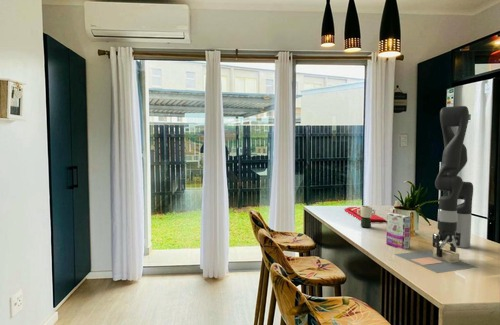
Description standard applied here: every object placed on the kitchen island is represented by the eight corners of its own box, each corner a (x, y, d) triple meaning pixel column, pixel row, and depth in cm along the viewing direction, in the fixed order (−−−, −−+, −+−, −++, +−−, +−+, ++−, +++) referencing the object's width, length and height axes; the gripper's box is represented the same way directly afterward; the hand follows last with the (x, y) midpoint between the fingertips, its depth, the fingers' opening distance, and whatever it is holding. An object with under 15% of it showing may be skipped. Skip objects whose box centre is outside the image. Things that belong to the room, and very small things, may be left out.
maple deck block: (433, 256, 154) (433, 248, 154) (441, 255, 156) (441, 247, 156) (450, 262, 146) (450, 254, 146) (459, 261, 147) (459, 253, 147)
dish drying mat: (364, 223, 222) (364, 218, 222) (343, 211, 263) (343, 206, 263) (387, 223, 223) (387, 218, 223) (363, 211, 264) (363, 206, 264)
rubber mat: (394, 255, 157) (394, 253, 157) (430, 251, 163) (430, 249, 163) (437, 274, 134) (437, 272, 134) (477, 268, 141) (477, 266, 141)
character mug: (373, 226, 214) (374, 205, 213) (376, 228, 207) (376, 208, 206) (355, 225, 215) (356, 205, 214) (357, 228, 208) (358, 207, 207)
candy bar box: (410, 249, 167) (411, 216, 166) (403, 250, 165) (404, 217, 164) (392, 243, 177) (393, 212, 176) (385, 244, 175) (386, 213, 174)
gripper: (452, 217, 156) (450, 252, 156) (427, 218, 151) (426, 254, 152) (467, 220, 148) (465, 257, 149) (442, 222, 144) (440, 260, 145)
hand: (445, 255), depth 151 cm, fingers open, 7 cm apart
